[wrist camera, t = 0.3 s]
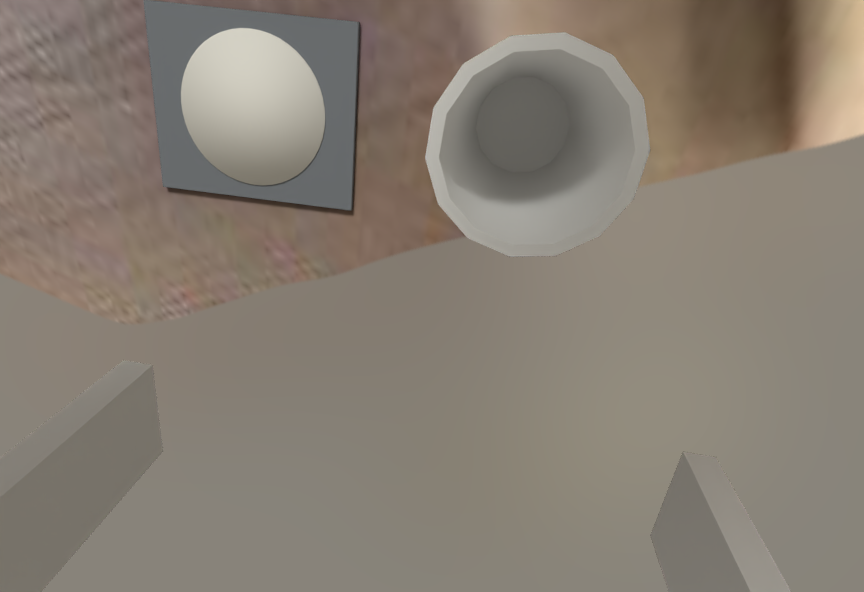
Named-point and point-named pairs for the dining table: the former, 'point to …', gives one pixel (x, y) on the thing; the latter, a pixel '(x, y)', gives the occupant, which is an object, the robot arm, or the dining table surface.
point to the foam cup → (537, 144)
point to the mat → (255, 102)
